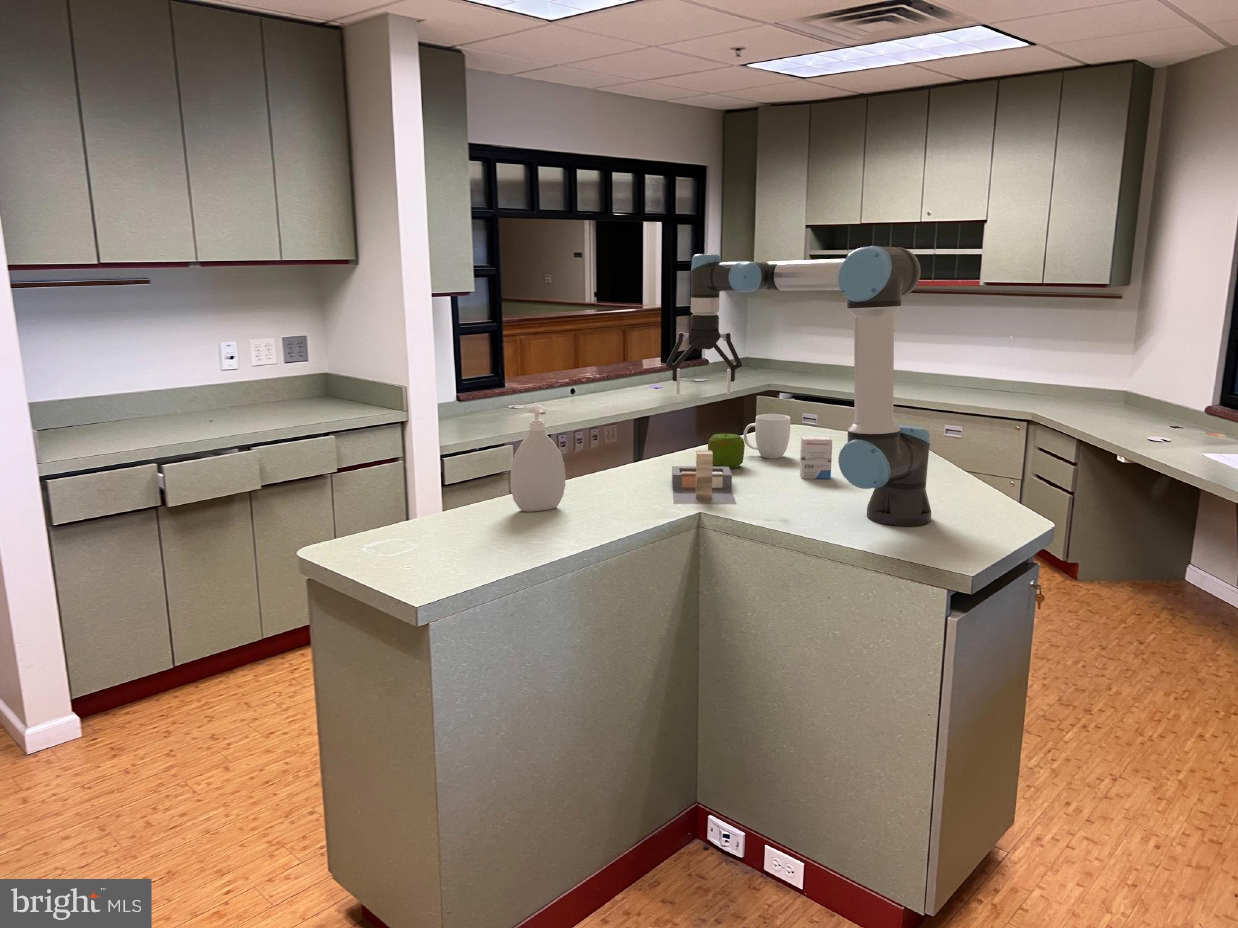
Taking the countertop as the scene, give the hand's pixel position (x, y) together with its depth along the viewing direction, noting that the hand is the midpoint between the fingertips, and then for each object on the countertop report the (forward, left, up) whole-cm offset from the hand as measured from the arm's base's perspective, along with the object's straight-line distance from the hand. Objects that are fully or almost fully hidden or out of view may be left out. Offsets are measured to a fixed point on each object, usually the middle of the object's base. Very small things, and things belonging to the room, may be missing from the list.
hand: (703, 393), depth 237 cm
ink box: (+16, -34, -27) cm, 46 cm away
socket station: (-6, 0, -27) cm, 27 cm away
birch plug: (-12, 0, -26) cm, 28 cm away
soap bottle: (-22, +42, -27) cm, 55 cm away
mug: (+44, -24, -27) cm, 57 cm away
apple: (+29, -9, -27) cm, 41 cm away
